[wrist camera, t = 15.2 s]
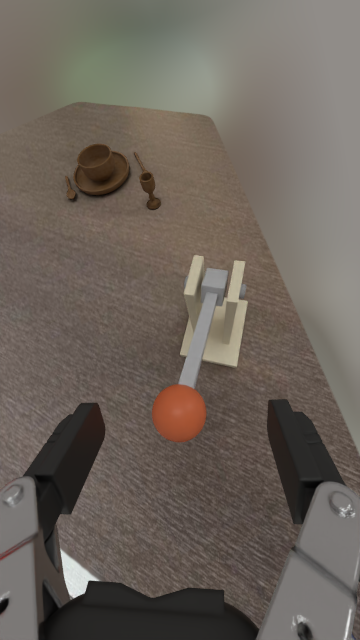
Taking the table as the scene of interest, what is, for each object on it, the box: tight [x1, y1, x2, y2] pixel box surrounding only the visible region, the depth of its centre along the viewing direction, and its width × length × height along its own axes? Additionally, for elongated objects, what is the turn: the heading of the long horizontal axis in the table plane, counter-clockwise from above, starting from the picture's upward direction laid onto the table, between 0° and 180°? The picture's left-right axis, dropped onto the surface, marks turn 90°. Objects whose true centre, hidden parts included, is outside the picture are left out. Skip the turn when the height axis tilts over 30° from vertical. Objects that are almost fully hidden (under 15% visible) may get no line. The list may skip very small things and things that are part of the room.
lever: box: [152, 268, 229, 442], centre depth 20 cm, size 16×4×4 cm, turn 166°
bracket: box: [180, 256, 248, 368], centre depth 30 cm, size 10×8×15 cm
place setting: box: [65, 144, 161, 210], centre depth 48 cm, size 18×20×6 cm
